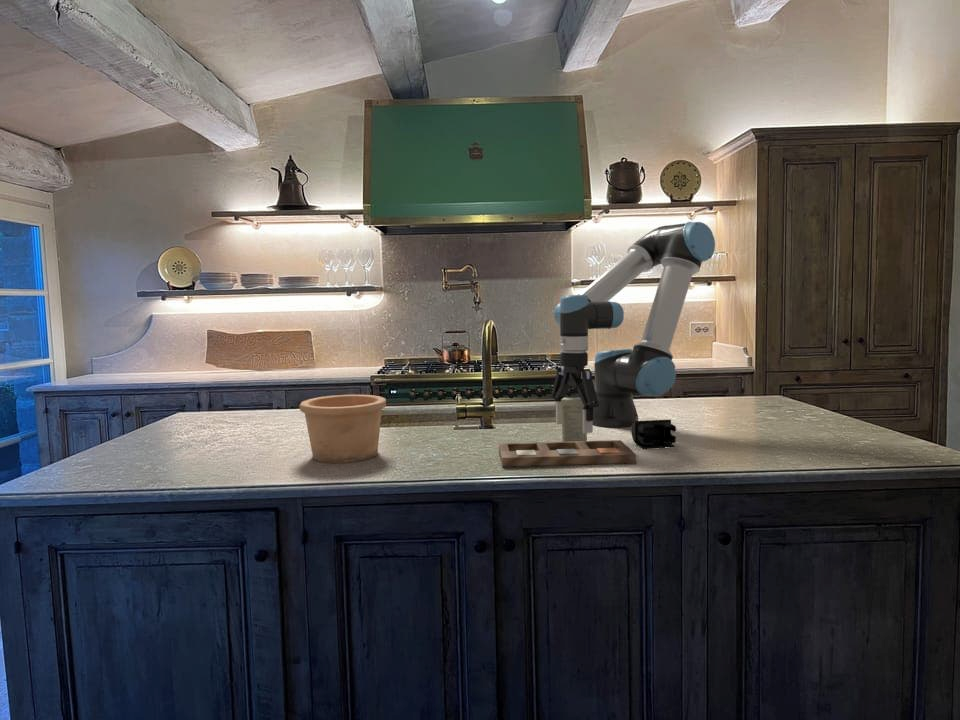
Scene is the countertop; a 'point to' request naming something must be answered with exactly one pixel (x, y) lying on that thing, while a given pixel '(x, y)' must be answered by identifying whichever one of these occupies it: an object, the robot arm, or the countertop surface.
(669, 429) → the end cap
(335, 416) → the pottery
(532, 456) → the socket plate
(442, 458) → the countertop surface
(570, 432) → the skincare box
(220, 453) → the countertop surface
